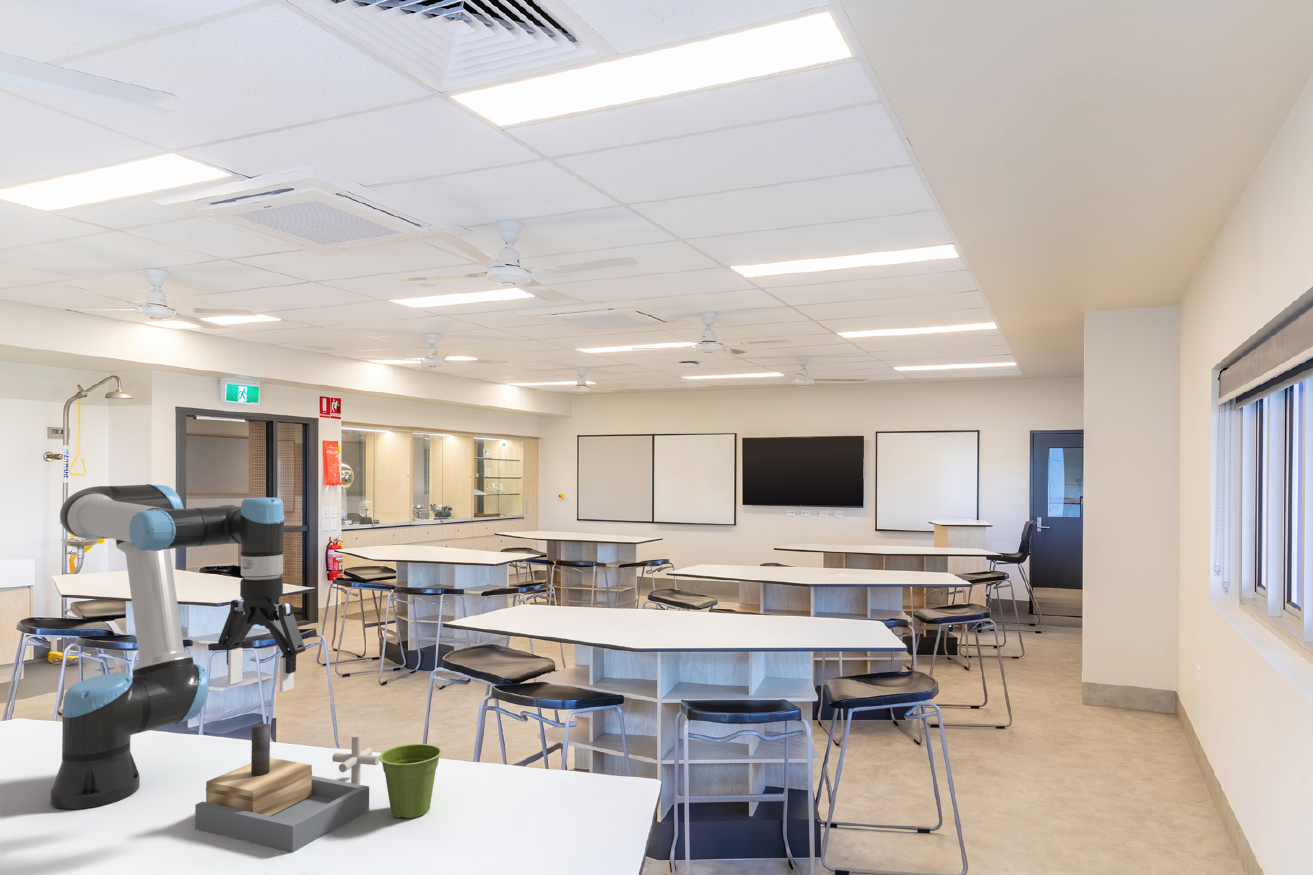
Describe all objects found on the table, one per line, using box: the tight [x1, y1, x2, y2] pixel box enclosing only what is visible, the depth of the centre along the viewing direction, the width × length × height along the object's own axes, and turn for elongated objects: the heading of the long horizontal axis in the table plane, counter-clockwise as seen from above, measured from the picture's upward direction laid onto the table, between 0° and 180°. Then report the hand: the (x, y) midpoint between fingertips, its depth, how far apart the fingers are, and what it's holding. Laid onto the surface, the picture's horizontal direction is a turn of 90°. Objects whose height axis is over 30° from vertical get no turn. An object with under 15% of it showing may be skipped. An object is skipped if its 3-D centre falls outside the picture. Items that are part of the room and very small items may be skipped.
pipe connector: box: [331, 733, 380, 785], centre depth 175 cm, size 10×10×10 cm
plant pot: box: [378, 743, 443, 819], centre depth 161 cm, size 12×12×11 cm
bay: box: [194, 775, 370, 853], centre depth 158 cm, size 24×19×4 cm
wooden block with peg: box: [205, 723, 313, 816], centre depth 160 cm, size 12×14×15 cm
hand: (260, 686), depth 161 cm, fingers open, 13 cm apart
